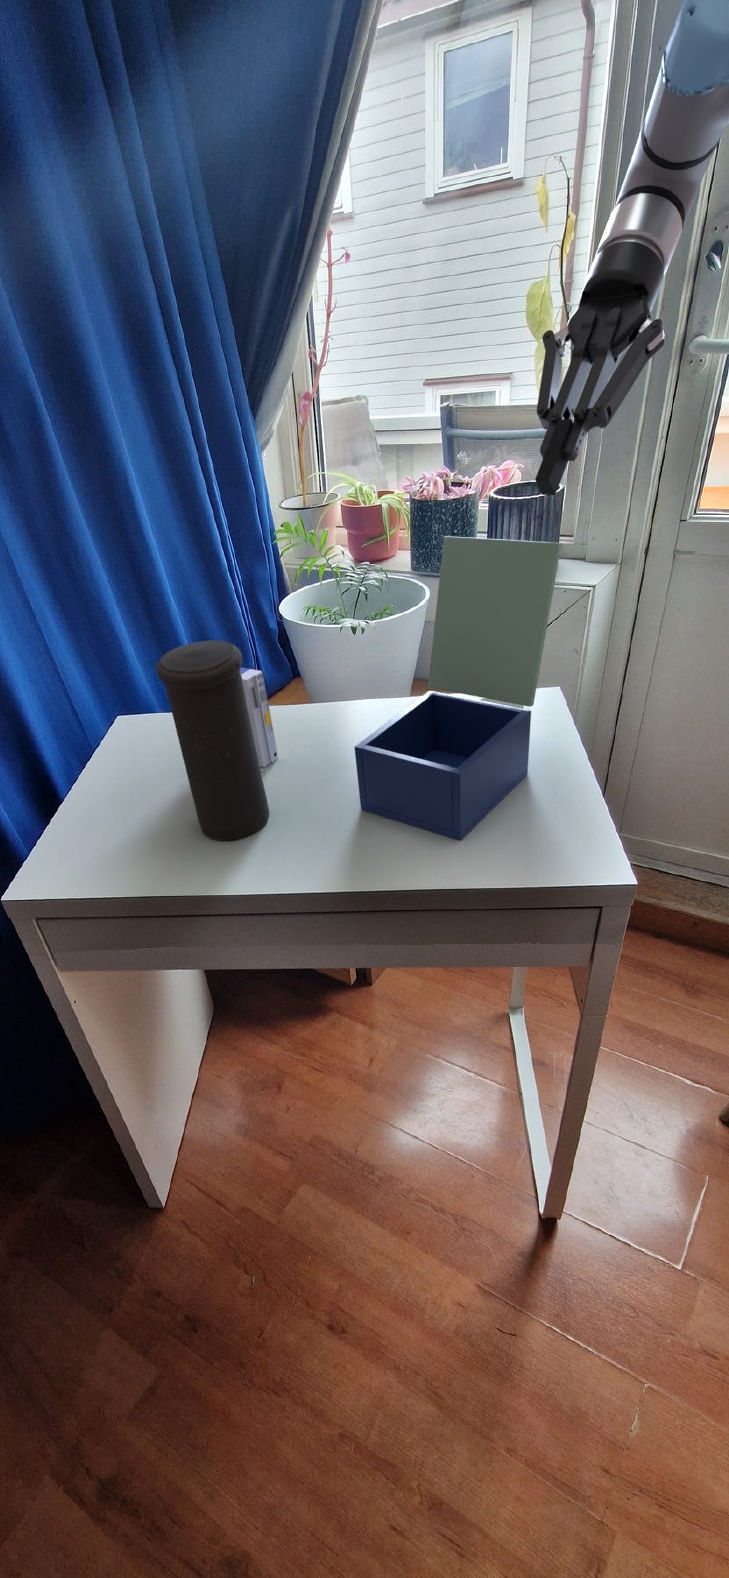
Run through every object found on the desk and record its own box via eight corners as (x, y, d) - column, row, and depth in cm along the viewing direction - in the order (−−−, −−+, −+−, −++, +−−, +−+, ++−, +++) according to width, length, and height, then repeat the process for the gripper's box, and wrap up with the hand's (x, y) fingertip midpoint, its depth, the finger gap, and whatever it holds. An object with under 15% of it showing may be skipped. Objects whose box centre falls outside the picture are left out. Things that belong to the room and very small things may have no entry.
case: (460, 840, 78) (460, 774, 73) (360, 809, 85) (354, 746, 80) (527, 774, 86) (531, 710, 81) (431, 751, 93) (429, 690, 88)
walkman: (220, 756, 99) (199, 668, 92) (234, 746, 101) (215, 659, 93) (265, 768, 95) (247, 677, 87) (279, 758, 96) (263, 668, 89)
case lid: (558, 543, 73) (561, 543, 73) (443, 536, 80) (447, 536, 80) (530, 706, 80) (533, 705, 81) (427, 687, 87) (431, 686, 88)
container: (277, 797, 89) (246, 629, 76) (267, 841, 82) (230, 664, 70) (207, 801, 91) (164, 637, 78) (191, 845, 84) (142, 672, 71)
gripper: (698, 290, 78) (612, 510, 80) (577, 305, 85) (501, 506, 87) (689, 225, 72) (597, 465, 74) (560, 247, 79) (478, 465, 81)
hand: (545, 487), depth 80 cm, fingers closed
